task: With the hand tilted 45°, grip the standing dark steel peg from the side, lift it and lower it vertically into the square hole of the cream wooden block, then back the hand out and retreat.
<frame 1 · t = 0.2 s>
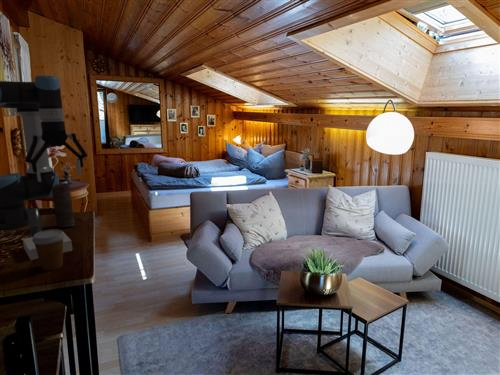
hand: (60, 178, 134), 28 cm above the table, tool pointing down, fingers open, 13 cm apart
disposable coffee cup: (52, 267, 124), on the table
candle: (65, 227, 165), on the table
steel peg: (37, 238, 150), on the table
hole block: (48, 249, 138), on the table
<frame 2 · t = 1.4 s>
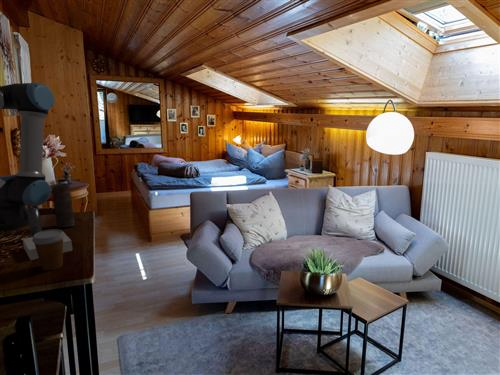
nothing on the table moved.
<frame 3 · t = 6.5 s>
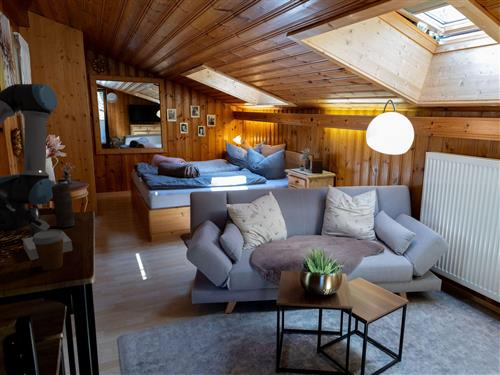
hand: (46, 227, 151), 4 cm above the table, tool tilted 45°, fingers closed on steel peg, 4 cm apart
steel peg: (37, 238, 150), on the table, touching gripper
everything else where it was.
when the fingers open (6 cm above the table, at t = 12.2 s): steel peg drops 2 cm, resting in hole block.
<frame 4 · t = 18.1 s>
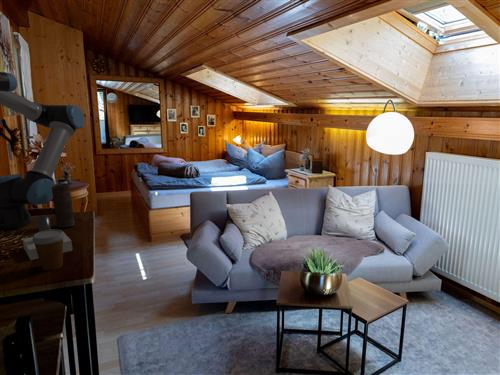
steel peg: (47, 249, 138), resting in hole block
everything else where it was.
at the end: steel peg 0.1 cm off-centre on the hole block, point 0.0 cm above the hole block's base; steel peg tilted 0°; the gripper is holding nothing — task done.
